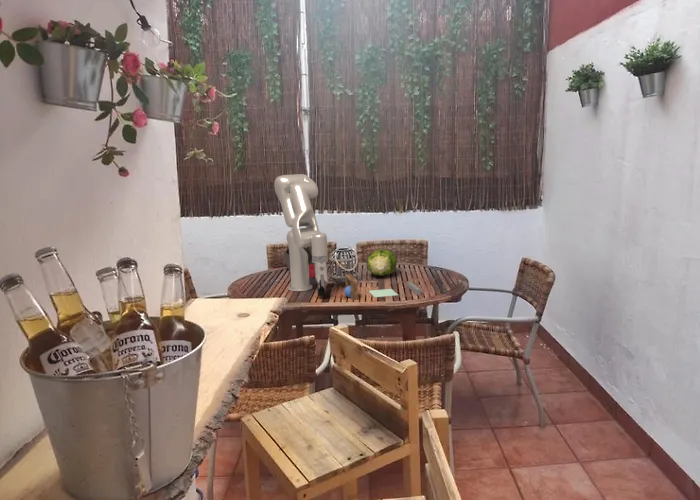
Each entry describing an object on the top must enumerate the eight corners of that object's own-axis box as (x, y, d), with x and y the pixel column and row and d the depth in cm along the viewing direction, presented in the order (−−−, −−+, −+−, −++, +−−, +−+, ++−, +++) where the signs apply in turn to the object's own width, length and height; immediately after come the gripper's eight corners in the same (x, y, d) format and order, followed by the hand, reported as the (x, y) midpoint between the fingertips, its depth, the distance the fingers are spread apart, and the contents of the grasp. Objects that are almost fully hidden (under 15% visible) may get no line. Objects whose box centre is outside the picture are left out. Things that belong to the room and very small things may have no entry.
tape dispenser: (316, 278, 298) (316, 270, 297) (300, 277, 302) (300, 269, 301) (326, 273, 311) (326, 264, 310) (310, 272, 315) (310, 264, 314)
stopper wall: (407, 286, 274) (407, 282, 273) (410, 286, 274) (410, 281, 274) (416, 294, 258) (416, 289, 258) (420, 294, 259) (420, 289, 258)
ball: (346, 298, 261) (341, 288, 260) (356, 291, 261) (350, 282, 260) (349, 300, 255) (343, 290, 254) (358, 294, 256) (353, 284, 255)
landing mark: (368, 291, 268) (368, 290, 268) (391, 289, 270) (391, 288, 270) (374, 297, 256) (374, 296, 256) (398, 295, 259) (398, 294, 259)
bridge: (351, 300, 253) (351, 281, 251) (345, 292, 267) (345, 274, 265) (357, 299, 254) (357, 280, 252) (351, 291, 268) (351, 273, 266)
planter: (278, 263, 319) (294, 235, 313) (281, 260, 326) (298, 232, 321) (301, 278, 318) (318, 250, 313) (304, 275, 325) (321, 248, 320)
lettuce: (364, 281, 288) (364, 254, 285) (370, 272, 308) (369, 246, 305) (394, 281, 285) (394, 254, 282) (397, 272, 305) (397, 246, 302)
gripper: (330, 261, 247) (331, 299, 251) (325, 255, 262) (326, 291, 265) (314, 262, 246) (315, 300, 249) (310, 256, 260) (311, 292, 264)
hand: (321, 295), depth 257 cm, fingers closed
